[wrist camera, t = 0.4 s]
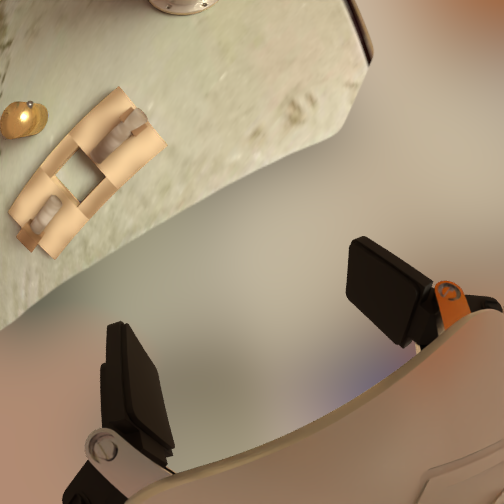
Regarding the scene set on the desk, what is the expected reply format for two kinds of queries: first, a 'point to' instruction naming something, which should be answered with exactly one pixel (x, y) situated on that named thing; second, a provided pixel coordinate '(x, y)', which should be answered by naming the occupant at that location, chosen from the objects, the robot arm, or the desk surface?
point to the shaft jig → (103, 156)
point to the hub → (23, 119)
